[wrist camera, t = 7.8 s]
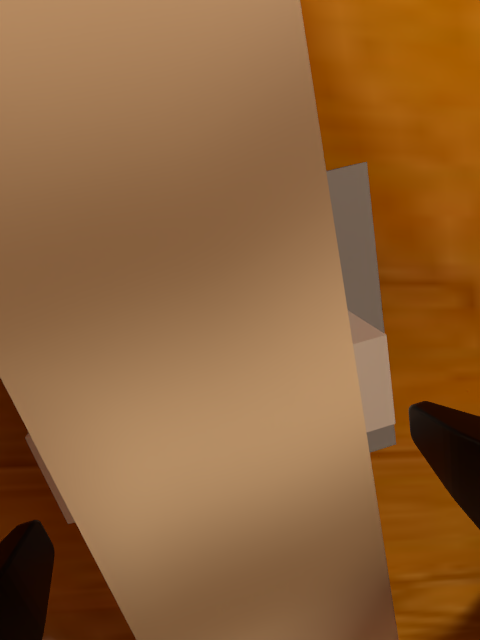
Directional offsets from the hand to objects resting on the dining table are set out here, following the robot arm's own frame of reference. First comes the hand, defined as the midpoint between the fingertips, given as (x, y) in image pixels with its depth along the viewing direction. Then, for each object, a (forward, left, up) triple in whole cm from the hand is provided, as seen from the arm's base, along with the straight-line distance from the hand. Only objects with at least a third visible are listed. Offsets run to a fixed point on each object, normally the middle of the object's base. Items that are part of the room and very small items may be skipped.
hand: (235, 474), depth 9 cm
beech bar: (0, 0, -2) cm, 2 cm away
